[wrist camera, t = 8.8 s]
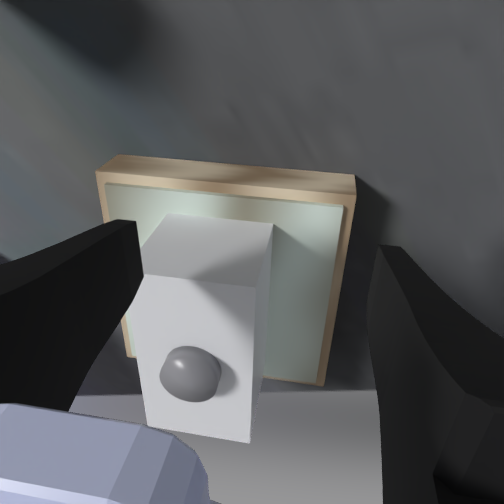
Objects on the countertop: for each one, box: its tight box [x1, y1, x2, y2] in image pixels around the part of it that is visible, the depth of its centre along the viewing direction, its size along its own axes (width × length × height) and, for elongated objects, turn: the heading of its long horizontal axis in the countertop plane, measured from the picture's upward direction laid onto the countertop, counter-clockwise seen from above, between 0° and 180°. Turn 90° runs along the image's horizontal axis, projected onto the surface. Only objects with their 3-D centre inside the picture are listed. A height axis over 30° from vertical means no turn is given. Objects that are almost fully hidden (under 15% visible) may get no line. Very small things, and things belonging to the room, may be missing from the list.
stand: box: [95, 154, 357, 387], centre depth 23 cm, size 12×12×3 cm
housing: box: [129, 213, 273, 443], centre depth 19 cm, size 9×5×6 cm, turn 179°
